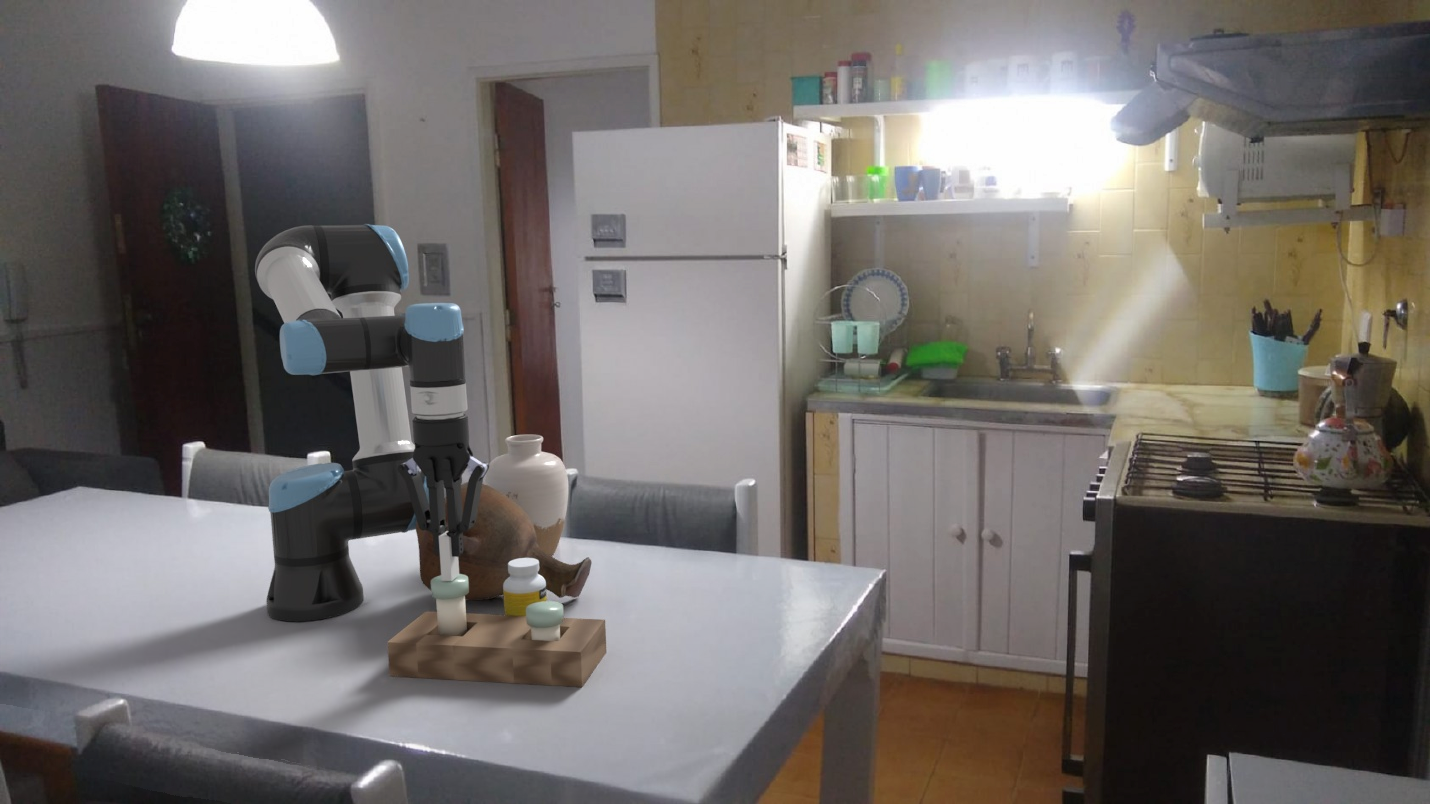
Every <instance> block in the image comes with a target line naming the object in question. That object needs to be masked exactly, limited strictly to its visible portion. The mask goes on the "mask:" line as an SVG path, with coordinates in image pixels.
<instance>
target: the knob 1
mask: <svg viewBox="0 0 1430 804" xmlns="http://www.w3.org/2000/svg"><path fill="white" fill-rule="evenodd" d="M430 591H431V593H430V595H431V597H432V598H433V599H435V601H436V602H435V603H436V612H437V620H438V635H444V636H463V635H465V634H466V633H467V622H466V613H467V610H466V600H465V595H466V594H468V593H469V583H468V576H466V575H463V574H459V576H457V577H456V578H455V579H454V580H452V581H442V579H441V575H440V576H437V577H435V578H433V579H432V580H431V590H430Z"/></svg>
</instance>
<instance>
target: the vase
mask: <svg viewBox="0 0 1430 804" xmlns="http://www.w3.org/2000/svg"><path fill="white" fill-rule="evenodd" d="M504 442H505V444H506V445H507V453H505V454H502V455H498V456H497V457H494V459H493V460H491V461H490V462H489V463H488V464H489V469H488V471H487V473H486V474H485V476H484V480H483V481H484V482H483V484H485V485H488V486H490V487H492V488H494V489H496V490H497V491H499V492H501V493H502V494H504V495H506V496H507V497H508V498H510V499H511V500H512V501H514V502H515V503H516V504H517V505H518V506H519V507H520V508H521V509H522V510H523V511H524V512H525V513H526V514H527V516H528V517H529V519H530V520H531V522H532V524H533V526H534V529H535V532H536V536H537V543H538V546H539V547H540V548H541V550H542V551H544V552H545V553H546V554H548V555H550V556H551V557H552V556H553V555H554V554H555V552H556V551H557V549H558V545H559V543H560V540H561V537H562V534H563V531H564V525H565V521H566V515H567V509H568V503H569V502H568V501H569V478H568V473H567V469H566V466H565V465H564V462H563V461H562V459H561V458H560V457H559V456H557V455H555V454H554V453H551V452H545V451H542V443H543V442H544V437H543V436H542V435H540V434H532V433H531V434H517V435H512V436H508V437H506V438H505V439H504Z"/></svg>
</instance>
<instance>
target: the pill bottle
mask: <svg viewBox="0 0 1430 804" xmlns="http://www.w3.org/2000/svg"><path fill="white" fill-rule="evenodd" d="M538 571H539V561H538V560H537V559H534V558H519V559H514V560H512V561H510V562H509V563H508V573H509V574H510V577H509V578H507V579H506V580H505V582H504V584H503V593H504V595H503V606H504V607H503V608H504V610H503V611H504V615H513V616H526V607H527V606H529V605H530V604H533V603H536V602H542V601H548V599H547V597H548V596H547V589H546V581H545V579H544V578H543V577H542V576H541V575H539V574H538Z"/></svg>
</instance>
